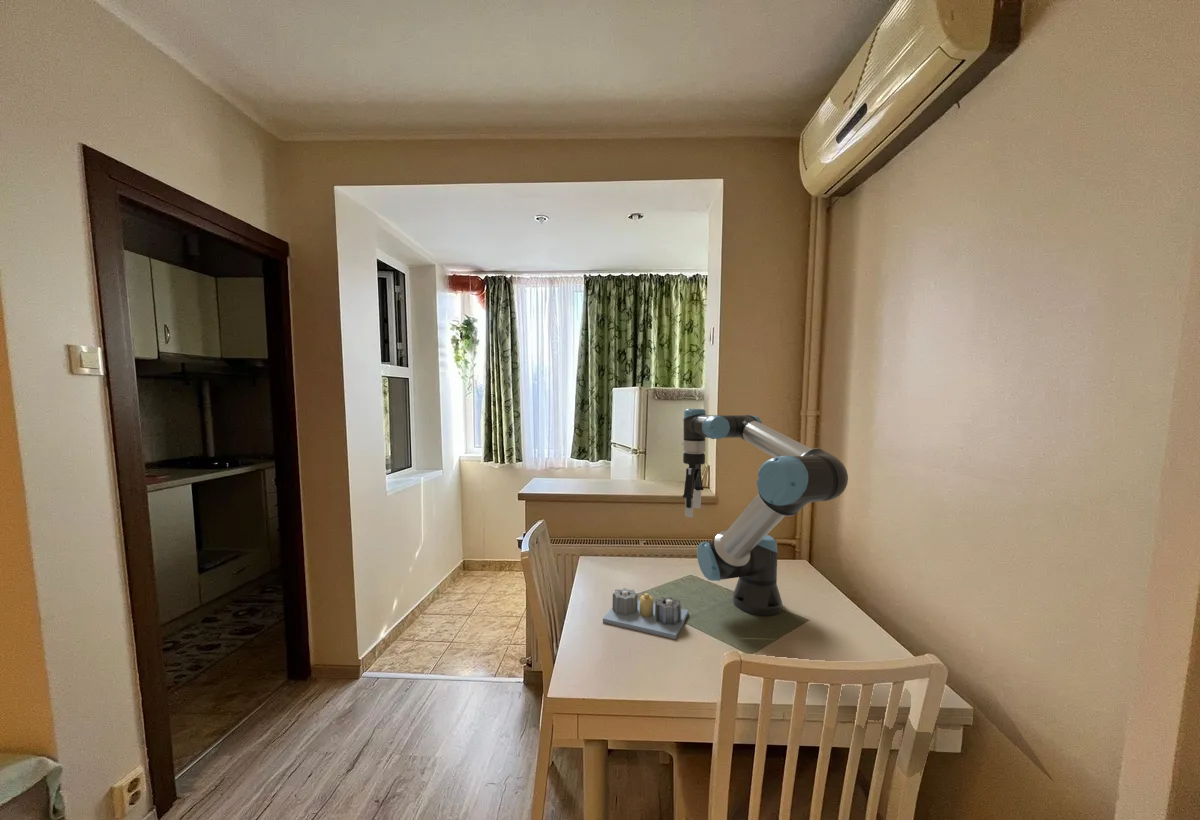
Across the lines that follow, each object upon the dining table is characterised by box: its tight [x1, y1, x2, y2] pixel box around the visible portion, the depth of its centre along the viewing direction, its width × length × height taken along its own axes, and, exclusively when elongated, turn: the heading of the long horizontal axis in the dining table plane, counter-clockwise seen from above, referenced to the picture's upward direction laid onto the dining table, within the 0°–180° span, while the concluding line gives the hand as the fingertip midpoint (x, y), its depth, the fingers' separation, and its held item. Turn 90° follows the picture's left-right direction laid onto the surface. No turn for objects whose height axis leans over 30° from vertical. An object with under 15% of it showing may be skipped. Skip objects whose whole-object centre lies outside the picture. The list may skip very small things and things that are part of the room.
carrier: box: [602, 587, 689, 640], centre depth 133 cm, size 22×16×7 cm
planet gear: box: [654, 596, 682, 625], centre depth 130 cm, size 8×8×5 cm
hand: (693, 512), depth 154 cm, fingers open, 13 cm apart
